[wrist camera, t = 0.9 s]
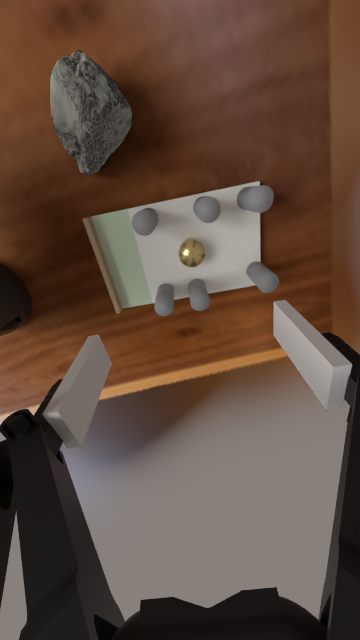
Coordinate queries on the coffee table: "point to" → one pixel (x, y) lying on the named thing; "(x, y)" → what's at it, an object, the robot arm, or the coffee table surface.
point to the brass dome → (191, 252)
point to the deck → (165, 239)
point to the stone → (88, 111)
